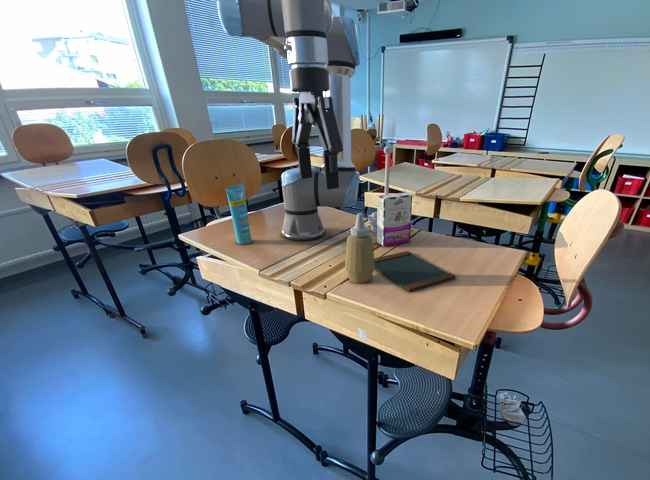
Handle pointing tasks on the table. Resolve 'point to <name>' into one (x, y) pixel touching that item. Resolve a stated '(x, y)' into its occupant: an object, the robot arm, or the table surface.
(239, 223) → the tube
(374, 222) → the flag stand
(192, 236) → the table surface
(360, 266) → the squeeze bottle
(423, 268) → the desk pad
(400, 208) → the candy bar box
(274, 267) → the table surface
